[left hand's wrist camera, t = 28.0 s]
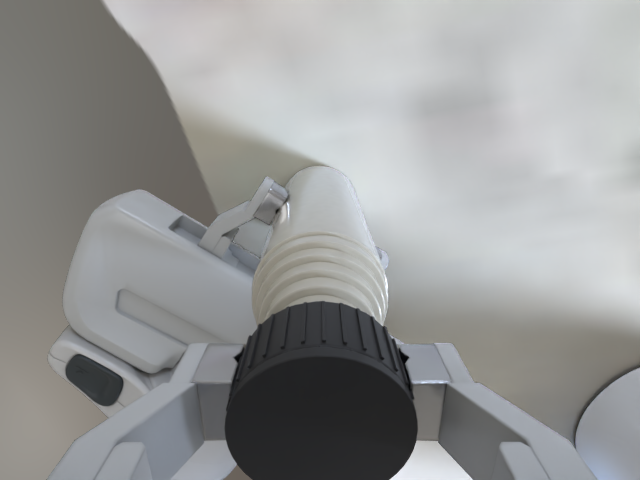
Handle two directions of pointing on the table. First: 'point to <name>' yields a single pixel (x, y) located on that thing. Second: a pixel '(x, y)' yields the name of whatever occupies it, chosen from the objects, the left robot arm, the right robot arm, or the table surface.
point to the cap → (321, 398)
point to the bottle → (319, 250)
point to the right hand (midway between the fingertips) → (328, 217)
